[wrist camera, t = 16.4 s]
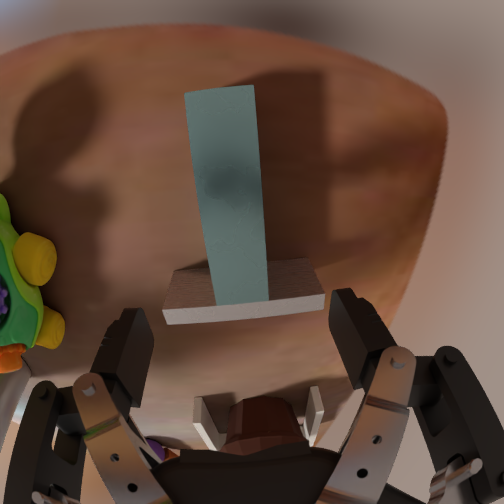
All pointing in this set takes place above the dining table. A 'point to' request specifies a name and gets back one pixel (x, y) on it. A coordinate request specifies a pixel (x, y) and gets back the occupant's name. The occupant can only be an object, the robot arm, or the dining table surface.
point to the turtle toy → (24, 293)
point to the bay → (217, 440)
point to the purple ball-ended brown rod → (161, 450)
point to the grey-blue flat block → (234, 223)
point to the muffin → (260, 425)
